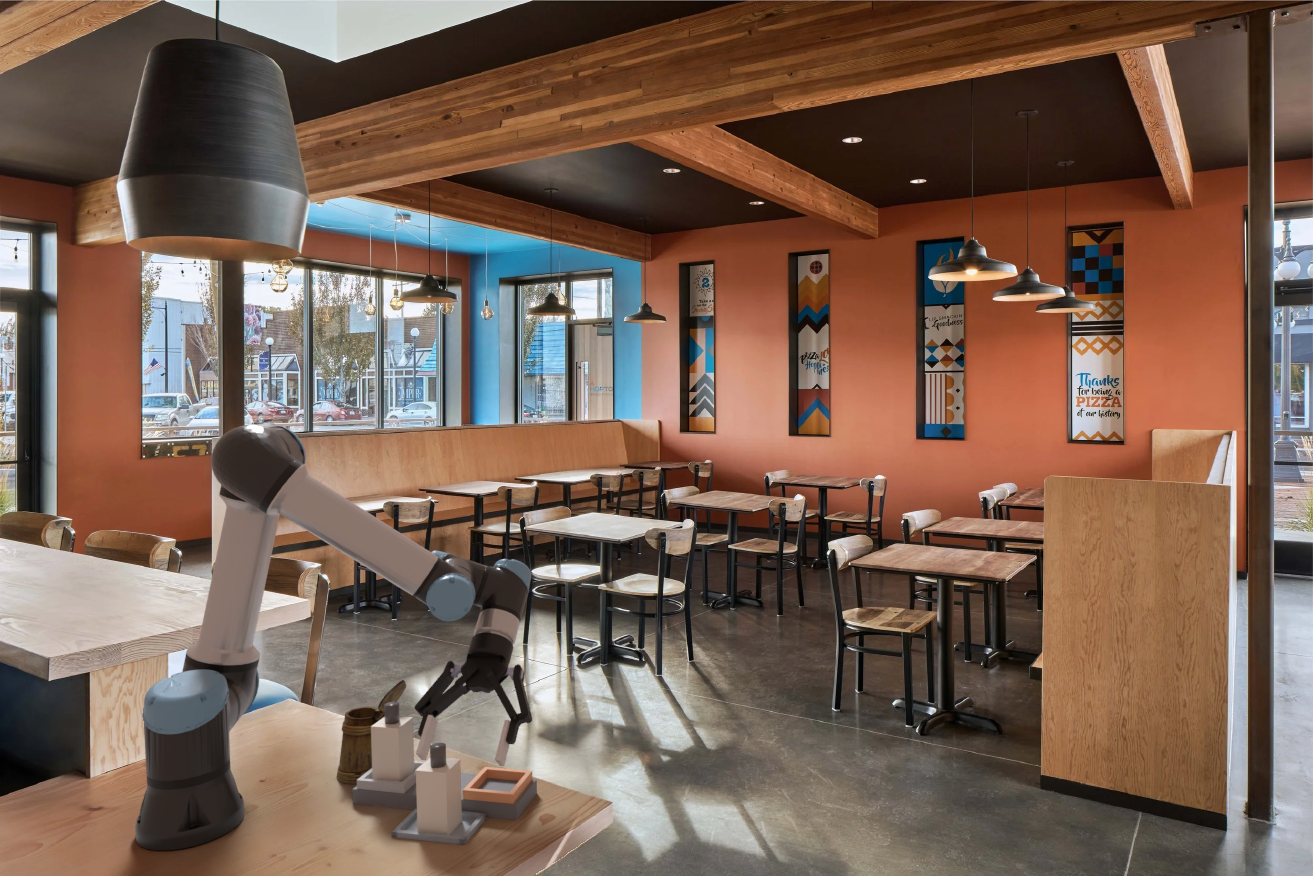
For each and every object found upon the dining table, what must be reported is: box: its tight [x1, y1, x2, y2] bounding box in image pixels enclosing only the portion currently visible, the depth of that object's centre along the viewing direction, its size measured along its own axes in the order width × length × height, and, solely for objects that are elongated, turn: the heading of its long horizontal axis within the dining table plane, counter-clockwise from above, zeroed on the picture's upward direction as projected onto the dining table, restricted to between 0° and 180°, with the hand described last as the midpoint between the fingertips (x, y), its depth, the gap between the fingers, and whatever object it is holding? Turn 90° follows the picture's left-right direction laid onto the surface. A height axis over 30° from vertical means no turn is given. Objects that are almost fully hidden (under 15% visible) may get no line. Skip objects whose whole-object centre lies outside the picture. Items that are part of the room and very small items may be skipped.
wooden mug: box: [336, 679, 407, 785], centre depth 150 cm, size 9×14×18 cm, turn 72°
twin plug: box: [371, 701, 415, 782], centre depth 141 cm, size 5×5×13 cm
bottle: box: [416, 742, 462, 835], centre depth 130 cm, size 5×5×13 cm
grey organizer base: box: [351, 760, 538, 821], centre depth 139 cm, size 29×9×4 cm, turn 78°
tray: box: [391, 807, 487, 846], centre depth 130 cm, size 12×8×1 cm, turn 78°
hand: (459, 760), depth 134 cm, fingers open, 13 cm apart
